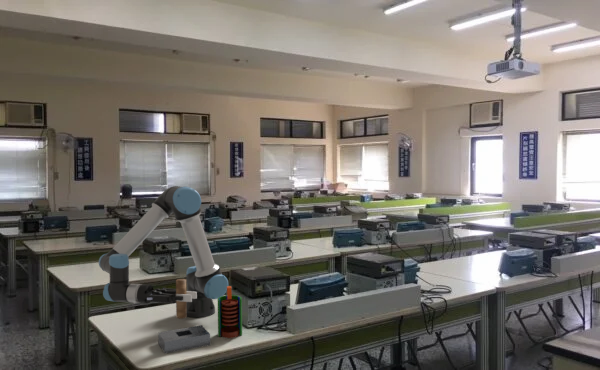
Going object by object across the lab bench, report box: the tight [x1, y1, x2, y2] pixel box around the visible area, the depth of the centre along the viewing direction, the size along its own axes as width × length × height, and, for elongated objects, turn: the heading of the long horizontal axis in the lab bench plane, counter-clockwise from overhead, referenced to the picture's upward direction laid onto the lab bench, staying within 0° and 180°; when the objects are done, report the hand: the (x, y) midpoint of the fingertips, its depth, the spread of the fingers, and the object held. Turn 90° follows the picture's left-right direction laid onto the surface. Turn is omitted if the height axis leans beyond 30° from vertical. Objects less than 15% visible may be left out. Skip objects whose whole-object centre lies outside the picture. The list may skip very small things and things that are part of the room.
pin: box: [175, 278, 188, 319], centre depth 194 cm, size 4×4×15 cm
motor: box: [217, 285, 243, 339], centre depth 206 cm, size 10×9×20 cm
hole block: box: [157, 324, 211, 354], centre depth 195 cm, size 18×12×4 cm, turn 117°
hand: (193, 296), depth 193 cm, fingers closed on pin, 4 cm apart
